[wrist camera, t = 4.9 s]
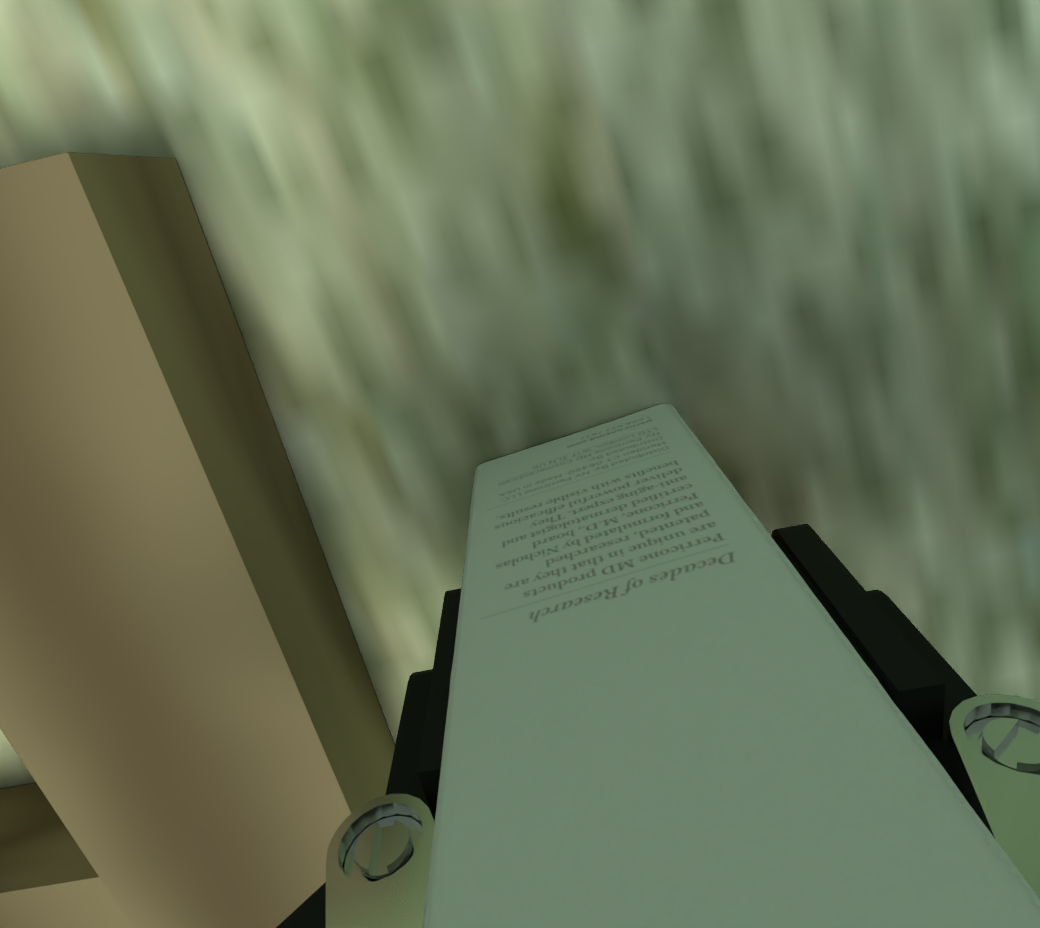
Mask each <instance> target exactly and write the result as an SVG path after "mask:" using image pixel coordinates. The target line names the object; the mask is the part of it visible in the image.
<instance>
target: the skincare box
mask: <svg viewBox="0 0 1040 928" xmlns="http://www.w3.org/2000/svg"><path fill="white" fill-rule="evenodd" d="M422 928H1040V898H1039V897H1038V896H1037V894H1036V893H1035V892H1034V890H1033V889H1032V887H1031V886H1030V885H1029V883H1028V882H1027V881H1026V879H1025V878H1024V877H1023V875H1022V874H1021V873H1020V871H1019V870H1018V869H1017V867H1016V866H1015V865H1014V863H1013V862H1012V861H1011V859H1010V858H1009V857H1008V855H1007V854H1006V853H1005V851H1004V850H1003V849H1002V847H1001V846H1000V845H999V843H998V842H997V841H996V839H995V838H994V837H993V835H992V834H991V833H990V831H989V830H988V828H987V827H986V826H985V824H984V823H983V822H982V820H981V819H980V818H979V816H978V815H977V814H976V812H975V811H974V810H973V808H972V807H971V806H970V804H969V803H968V802H967V800H966V799H965V797H964V796H963V795H962V793H961V792H960V790H959V789H958V788H957V786H956V785H955V783H954V782H953V781H952V779H951V778H950V776H949V775H948V773H947V772H946V771H945V769H944V768H943V766H942V765H941V764H940V762H939V761H938V760H937V758H936V757H935V756H934V754H933V753H932V752H931V751H930V749H929V748H928V747H927V745H926V744H925V743H924V741H923V740H922V739H921V737H920V736H919V735H918V733H917V732H916V731H915V729H914V728H913V727H912V725H911V724H910V723H909V721H908V720H907V719H906V717H905V716H904V715H903V714H902V712H901V711H900V710H899V709H898V707H897V706H896V705H895V704H894V702H893V701H892V700H891V698H890V697H889V695H888V694H887V693H886V691H885V690H884V688H883V687H882V685H881V684H880V682H879V681H878V680H877V678H876V677H875V675H874V674H873V673H872V672H871V670H870V669H869V668H868V666H867V665H866V664H865V662H864V661H863V660H862V658H861V657H860V656H859V654H858V653H857V652H856V650H855V649H854V647H853V646H852V645H851V643H850V642H849V640H848V639H847V638H846V637H845V635H844V634H843V633H842V631H841V630H840V629H839V627H838V626H837V625H836V623H835V622H834V621H833V619H832V618H831V616H830V615H829V613H828V612H827V611H826V609H825V608H824V607H823V605H822V604H821V603H820V602H819V600H818V599H817V598H816V596H815V595H814V594H813V592H812V591H811V590H810V588H809V587H808V585H807V584H806V583H805V581H804V580H803V579H802V577H801V576H800V574H799V573H798V572H797V570H796V569H795V568H794V566H793V565H792V563H791V562H790V561H789V560H788V558H787V557H786V556H785V554H784V553H783V552H782V550H781V549H780V548H779V546H778V545H777V544H776V542H775V541H774V540H773V538H772V537H771V536H770V534H769V533H768V532H767V530H766V529H765V528H764V526H763V525H762V524H761V522H760V521H759V520H758V518H757V517H756V515H755V514H754V513H753V512H752V510H751V509H750V508H749V507H748V505H747V504H746V503H745V502H744V500H743V499H742V498H741V497H740V495H739V493H738V492H737V490H736V489H735V488H734V486H733V485H732V483H731V482H730V481H729V480H728V478H727V477H726V476H725V474H724V473H723V472H722V471H721V469H720V468H719V467H718V465H717V464H716V462H715V461H714V460H713V458H712V457H711V456H710V454H709V453H708V452H707V450H706V449H705V448H704V446H703V445H702V444H701V442H700V441H699V440H698V438H697V437H696V436H695V434H694V433H693V432H692V431H691V429H690V428H689V427H688V425H687V424H686V423H685V421H684V420H683V419H682V417H681V416H680V415H679V414H678V412H677V410H676V409H675V407H673V406H672V405H670V404H661V405H656V406H653V407H650V408H647V409H645V410H642V411H639V412H636V413H633V414H631V415H628V416H625V417H622V418H619V419H616V420H614V421H611V422H607V423H604V424H601V425H598V426H595V427H592V428H590V429H587V430H584V431H581V432H578V433H575V434H572V435H569V436H566V437H563V438H560V439H557V440H553V441H550V442H547V443H544V444H541V445H538V446H535V447H531V448H528V449H525V450H522V451H519V452H516V453H513V454H510V455H507V456H504V457H500V458H497V459H494V460H491V461H488V462H485V463H483V464H480V465H479V466H477V467H476V470H475V474H474V481H473V490H472V499H471V508H470V519H469V526H468V535H467V545H466V554H465V562H464V571H463V579H462V587H461V596H460V604H459V613H458V622H457V631H456V639H455V648H454V656H453V664H452V671H451V678H450V690H449V700H448V708H447V716H446V725H445V734H444V743H443V752H442V761H441V771H440V780H439V789H438V798H437V807H436V815H435V822H434V830H433V838H432V845H431V855H430V866H429V876H428V884H427V892H426V899H425V906H424V914H423V923H422Z"/></svg>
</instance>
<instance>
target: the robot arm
mask: <svg viewBox="0 0 1040 928" xmlns="http://www.w3.org/2000/svg"><path fill="white" fill-rule="evenodd" d="M771 537H772V538H773V540H774V541H775V542H776V544H777V545H778V546H779V548H780V549H781V550H782V552H783V553H784V554H785V556H786V557H787V558H788V560H789V561H790V562H791V563H792V565H793V566H794V568H795V569H796V570H797V572H798V573H799V574H800V576H801V577H802V579H803V580H804V581H805V583H806V584H807V585H808V587H809V588H810V590H811V591H812V592H813V594H814V595H815V596H816V598H817V599H818V600H819V602H820V603H821V604H822V605H823V607H824V608H825V609H826V611H827V612H828V613H829V615H830V616H831V618H832V619H833V621H834V622H835V623H836V625H837V626H838V627H839V629H840V630H841V631H842V633H843V634H844V635H845V637H846V638H847V639H848V640H849V642H850V643H851V645H852V646H853V647H854V649H855V650H856V652H857V653H858V654H859V656H860V657H861V658H862V660H863V661H864V662H865V664H866V665H867V666H868V668H869V669H870V670H871V672H872V673H873V674H874V675H875V677H876V678H877V680H878V681H879V682H880V684H881V685H882V687H883V688H884V690H885V691H886V693H887V694H888V695H889V697H890V698H891V700H892V701H893V702H894V704H895V705H896V706H897V707H898V709H899V710H900V711H901V712H902V714H903V715H904V716H905V717H906V719H907V720H908V721H909V723H910V724H911V725H912V727H913V728H914V729H915V731H916V732H917V733H918V735H919V736H920V737H921V739H922V740H923V741H924V743H925V744H926V745H927V747H928V748H929V749H930V751H931V752H932V753H933V754H934V756H935V757H936V758H937V760H938V761H939V762H940V764H941V765H942V766H943V768H944V769H945V771H946V772H947V773H948V775H949V776H950V778H951V779H952V781H953V782H954V783H955V785H956V786H957V788H958V789H959V790H960V792H961V793H962V795H963V796H964V797H965V799H966V800H967V802H968V803H969V804H970V806H971V807H972V808H973V810H974V811H975V812H976V814H977V815H978V816H979V818H980V819H981V820H982V822H983V823H984V824H985V826H986V827H987V828H988V830H989V831H990V833H991V834H992V835H993V837H994V838H995V839H996V841H997V842H998V843H999V845H1000V846H1001V847H1002V849H1003V850H1004V851H1005V853H1006V854H1007V855H1008V857H1009V858H1010V859H1011V861H1012V862H1013V863H1014V865H1015V866H1016V867H1017V869H1018V870H1019V871H1020V873H1021V874H1022V875H1023V877H1024V878H1025V879H1026V881H1027V882H1028V883H1029V885H1030V886H1031V887H1032V889H1033V890H1034V892H1035V893H1036V894H1037V896H1038V897H1039V898H1040V702H1037V701H1034V700H1030V699H1026V698H1023V697H1019V696H1013V695H1003V694H989V695H978V696H977V695H976V694H975V693H974V692H973V691H972V689H971V688H970V687H969V686H968V685H967V684H966V683H965V682H964V681H963V679H962V678H961V677H960V676H959V675H958V674H957V673H956V672H955V671H954V669H953V668H952V667H951V666H950V665H949V664H948V663H947V662H946V661H945V659H944V658H943V657H942V656H941V655H940V654H939V653H938V652H937V651H936V649H935V648H934V647H933V646H932V645H931V644H930V643H929V642H928V641H927V639H926V638H925V637H924V636H923V635H922V634H921V633H920V632H919V631H918V629H917V628H916V627H915V626H914V625H913V624H912V623H911V622H910V621H909V619H908V618H907V617H906V616H905V615H904V614H903V613H902V612H901V611H900V609H899V608H898V607H897V606H896V605H895V604H894V603H893V602H892V601H891V599H890V598H889V597H888V596H887V595H885V594H884V593H883V592H882V591H879V590H872V591H865V590H864V588H863V587H862V586H861V585H860V584H859V583H858V581H857V580H856V579H855V578H854V577H853V576H852V574H851V573H850V572H849V571H848V570H847V569H846V567H845V566H844V565H843V564H842V563H841V562H840V560H839V559H838V558H837V557H836V556H835V555H834V553H833V552H832V551H831V550H830V549H829V548H828V546H827V545H826V544H825V543H824V542H823V541H822V540H821V538H820V537H819V536H818V535H817V534H816V533H815V531H814V530H813V529H812V528H811V527H810V526H809V525H808V524H802V525H797V526H792V527H786V528H781V529H776V530H773V532H772V536H771ZM460 596H461V589H456V590H451V591H446V592H445V596H444V602H443V609H442V615H441V622H440V628H439V634H438V641H437V647H436V654H435V660H434V666H433V669H432V670H426V671H421V672H415V673H412V674H411V675H410V678H409V681H408V685H407V690H406V695H405V700H404V705H403V710H402V715H401V720H400V725H399V730H398V735H397V740H396V745H395V750H394V755H393V759H392V764H391V769H390V774H389V779H388V784H387V789H386V794H385V796H381V797H377V798H375V799H373V800H371V801H369V802H367V803H365V804H363V805H361V806H360V807H359V808H357V809H356V810H355V811H354V812H352V813H351V814H350V815H349V816H347V818H346V819H345V820H344V821H343V822H342V824H341V825H340V826H339V827H338V829H337V830H336V831H335V833H334V835H333V838H332V840H331V842H330V844H329V846H328V851H327V857H326V882H325V883H324V884H323V885H322V886H321V887H320V888H319V889H317V890H316V891H315V892H314V893H313V894H312V895H311V896H310V897H309V898H308V899H307V900H305V901H304V902H303V903H302V904H301V905H300V906H299V907H298V908H297V909H296V910H295V911H293V912H292V913H291V914H290V915H289V916H288V917H287V918H286V919H285V920H284V921H283V922H281V923H280V924H279V925H278V926H277V927H276V928H422V923H423V914H424V906H425V899H426V892H427V884H428V876H429V866H430V855H431V845H432V838H433V830H434V822H435V815H436V807H437V798H438V789H439V780H440V771H441V761H442V752H443V743H444V734H445V725H446V716H447V708H448V700H449V690H450V678H451V671H452V664H453V656H454V648H455V639H456V631H457V622H458V613H459V604H460Z"/></svg>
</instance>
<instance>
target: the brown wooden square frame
mask: <svg viewBox="0 0 1040 928" xmlns="http://www.w3.org/2000/svg"><path fill="white" fill-rule="evenodd" d="M0 729H1V730H2V732H3V733H4V735H5V736H6V738H7V739H8V741H9V742H10V744H11V745H12V747H13V748H14V750H15V751H16V753H17V754H18V756H19V757H20V759H21V760H22V762H23V763H24V765H25V766H26V768H27V769H28V771H29V772H30V774H31V775H32V777H33V778H34V780H35V781H36V783H33V784H28V785H22V786H16V787H11V788H5V789H0V928H276V927H277V926H278V925H279V924H280V923H281V922H283V921H284V920H285V919H286V918H287V917H288V916H289V915H290V914H291V913H292V912H293V911H295V910H296V909H297V908H298V907H299V906H300V905H301V904H302V903H303V902H304V901H305V900H307V899H308V898H309V897H310V896H311V895H312V894H313V893H314V892H315V891H316V890H317V889H319V888H320V887H321V886H322V885H323V884H324V883H325V882H326V857H327V851H328V846H329V844H330V842H331V840H332V838H333V835H334V833H335V831H336V830H337V829H338V827H339V826H340V825H341V824H342V822H343V821H344V820H345V819H346V818H347V816H349V815H350V814H351V813H352V812H354V811H355V810H356V809H357V808H359V807H360V806H361V805H363V804H365V803H367V802H369V801H371V800H373V799H375V798H377V797H381V796H385V794H386V789H387V784H388V779H389V774H390V769H391V764H392V759H393V755H394V750H395V745H394V742H393V740H392V737H391V734H390V732H389V729H388V726H387V724H386V721H385V718H384V716H383V713H382V710H381V708H380V705H379V702H378V699H377V697H376V694H375V691H374V689H373V686H372V683H371V681H370V678H369V675H368V673H367V670H366V667H365V665H364V662H363V659H362V657H361V654H360V651H359V649H358V646H357V643H356V641H355V638H354V635H353V633H352V630H351V627H350V625H349V622H348V619H347V617H346V614H345V611H344V608H343V606H342V603H341V600H340V598H339V595H338V592H337V590H336V587H335V584H334V582H333V579H332V576H331V574H330V571H329V568H328V566H327V563H326V560H325V558H324V555H323V552H322V550H321V547H320V544H319V542H318V539H317V536H316V534H315V531H314V528H313V526H312V523H311V520H310V517H309V515H308V512H307V509H306V507H305V504H304V501H303V499H302V496H301V493H300V491H299V488H298V485H297V483H296V480H295V477H294V475H293V472H292V469H291V467H290V464H289V461H288V459H287V456H286V453H285V451H284V448H283V445H282V443H281V440H280V437H279V434H278V432H277V429H276V426H275V424H274V421H273V418H272V416H271V413H270V410H269V408H268V405H267V402H266V400H265V397H264V394H263V392H262V389H261V386H260V384H259V381H258V378H257V376H256V373H255V370H254V368H253V365H252V362H251V360H250V357H249V354H248V352H247V349H246V346H245V343H244V341H243V338H242V335H241V333H240V330H239V327H238V325H237V322H236V319H235V317H234V314H233V311H232V309H231V306H230V303H229V301H228V298H227V295H226V293H225V290H224V287H223V285H222V282H221V279H220V277H219V274H218V271H217V269H216V266H215V263H214V261H213V258H212V255H211V252H210V250H209V247H208V244H207V242H206V239H205V236H204V234H203V231H202V228H201V226H200V223H199V220H198V218H197V215H196V212H195V210H194V207H193V204H192V202H191V199H190V196H189V194H188V191H187V188H186V186H185V183H184V180H183V178H182V175H181V172H180V170H179V167H178V164H177V161H176V159H175V158H159V157H142V156H125V155H107V154H90V153H73V152H66V153H62V154H58V155H54V156H50V157H46V158H41V159H37V160H33V161H29V162H25V163H21V164H17V165H13V166H8V167H4V168H0Z"/></svg>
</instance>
